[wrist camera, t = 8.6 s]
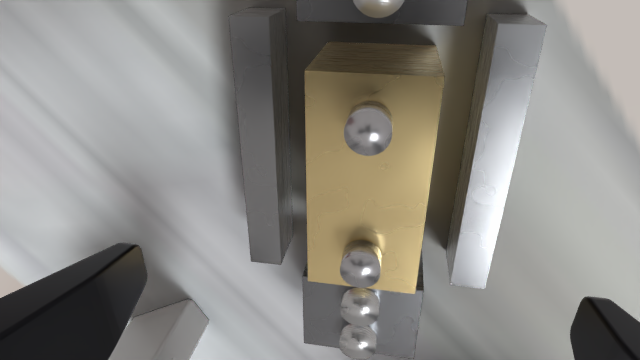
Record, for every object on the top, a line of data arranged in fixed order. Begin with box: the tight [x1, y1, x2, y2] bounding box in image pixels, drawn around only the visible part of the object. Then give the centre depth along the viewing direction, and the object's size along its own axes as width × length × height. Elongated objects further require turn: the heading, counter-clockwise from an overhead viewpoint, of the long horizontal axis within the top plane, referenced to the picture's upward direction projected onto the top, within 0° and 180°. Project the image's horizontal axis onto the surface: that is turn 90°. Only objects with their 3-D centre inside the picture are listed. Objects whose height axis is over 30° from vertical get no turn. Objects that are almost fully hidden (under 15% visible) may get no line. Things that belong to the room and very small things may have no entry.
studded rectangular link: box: [229, 0, 547, 360], centre depth 15 cm, size 16×9×3 cm, turn 0°
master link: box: [305, 42, 445, 294], centre depth 14 cm, size 7×4×5 cm, turn 0°
